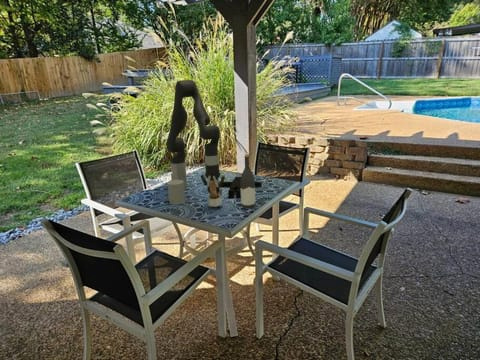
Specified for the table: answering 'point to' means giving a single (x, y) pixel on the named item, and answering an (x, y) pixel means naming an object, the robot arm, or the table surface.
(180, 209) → the table surface
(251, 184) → the wine bottle
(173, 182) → the speckled stone cylinder
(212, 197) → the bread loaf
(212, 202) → the mug
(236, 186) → the toy
